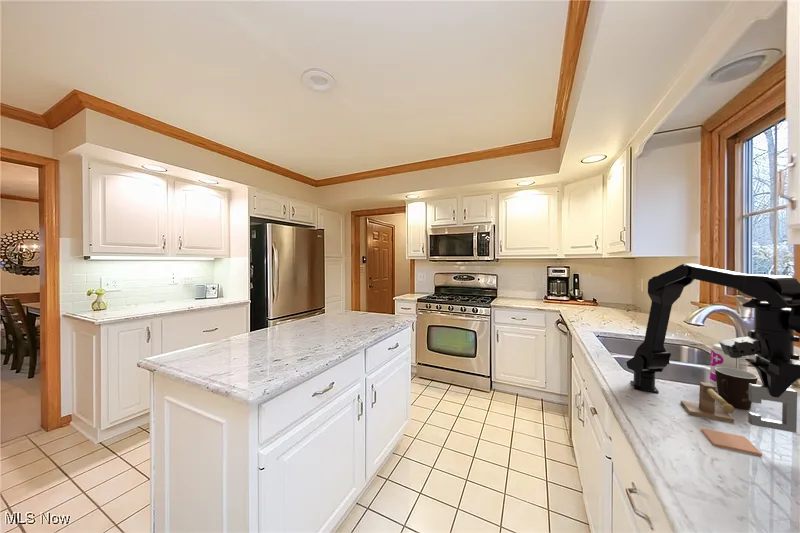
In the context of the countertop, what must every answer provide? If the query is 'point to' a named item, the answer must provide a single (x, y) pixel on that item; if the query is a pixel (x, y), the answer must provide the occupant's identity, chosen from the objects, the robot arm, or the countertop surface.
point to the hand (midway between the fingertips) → (772, 395)
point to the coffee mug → (735, 386)
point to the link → (787, 400)
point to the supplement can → (724, 362)
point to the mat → (731, 441)
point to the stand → (709, 404)
